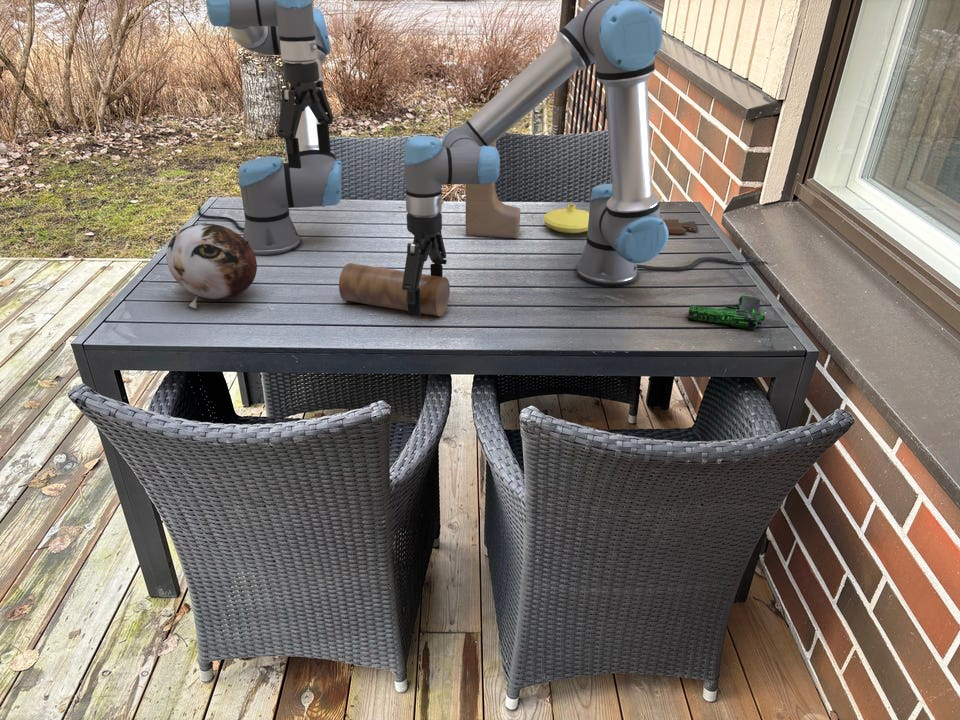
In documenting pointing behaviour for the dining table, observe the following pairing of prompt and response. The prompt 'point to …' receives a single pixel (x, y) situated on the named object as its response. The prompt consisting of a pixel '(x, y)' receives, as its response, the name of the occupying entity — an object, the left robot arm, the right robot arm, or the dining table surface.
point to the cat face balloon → (211, 261)
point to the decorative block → (489, 213)
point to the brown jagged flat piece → (679, 226)
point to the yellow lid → (567, 220)
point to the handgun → (731, 314)
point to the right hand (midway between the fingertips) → (425, 302)
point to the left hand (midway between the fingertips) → (310, 160)
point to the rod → (391, 289)
